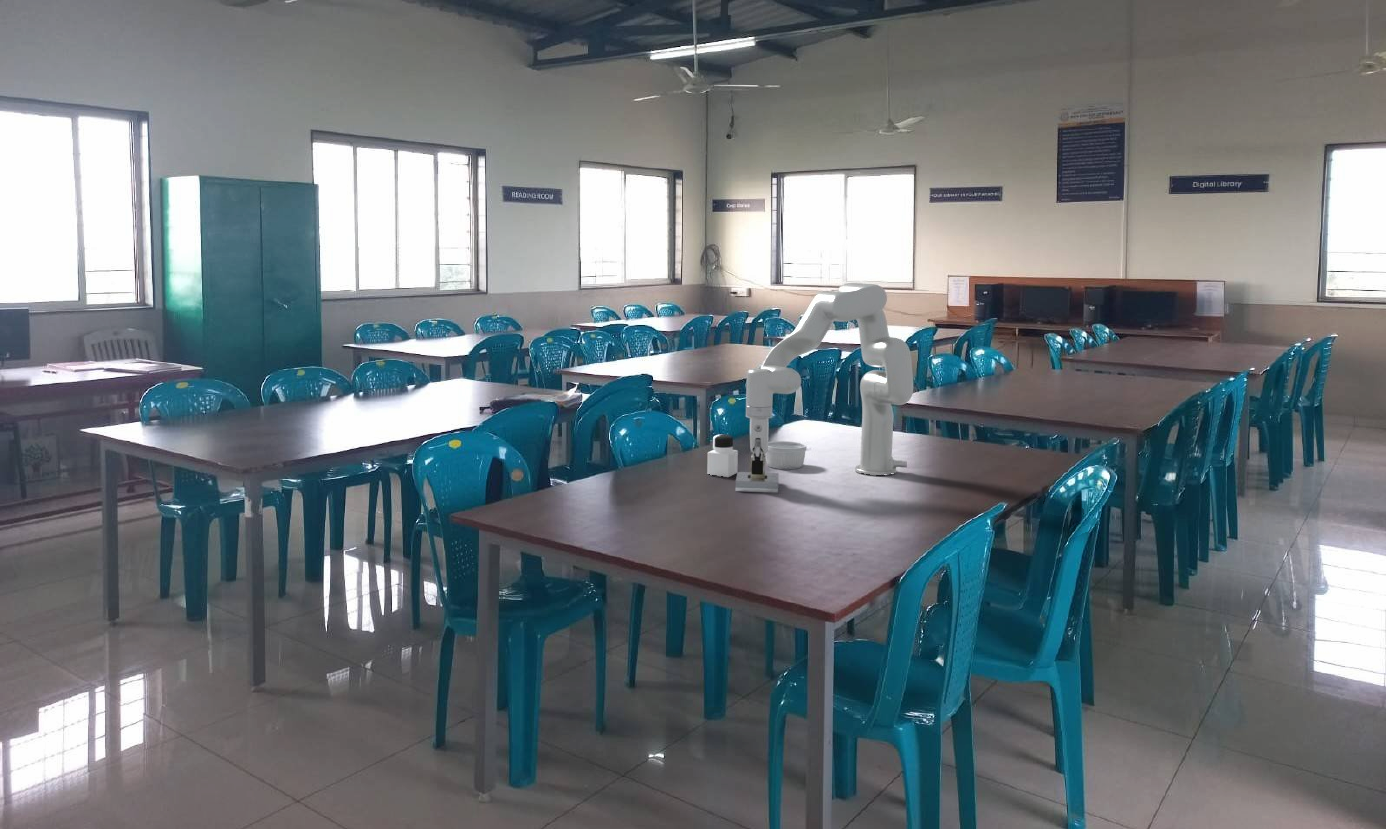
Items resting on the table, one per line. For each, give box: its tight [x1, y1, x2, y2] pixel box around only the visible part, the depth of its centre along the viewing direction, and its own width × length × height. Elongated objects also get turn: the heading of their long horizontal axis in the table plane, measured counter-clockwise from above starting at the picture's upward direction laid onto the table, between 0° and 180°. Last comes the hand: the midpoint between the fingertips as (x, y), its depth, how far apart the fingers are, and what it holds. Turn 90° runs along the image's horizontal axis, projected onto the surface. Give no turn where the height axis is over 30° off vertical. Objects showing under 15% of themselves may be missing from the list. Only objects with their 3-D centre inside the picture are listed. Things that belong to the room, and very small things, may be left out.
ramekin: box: [765, 440, 807, 470], centre depth 326 cm, size 13×13×7 cm
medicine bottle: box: [706, 433, 739, 478], centre depth 313 cm, size 7×7×12 cm
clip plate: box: [735, 471, 779, 493], centre depth 297 cm, size 12×12×3 cm
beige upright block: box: [750, 454, 766, 479], centre depth 296 cm, size 4×3×8 cm
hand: (757, 470), depth 296 cm, fingers open, 9 cm apart
